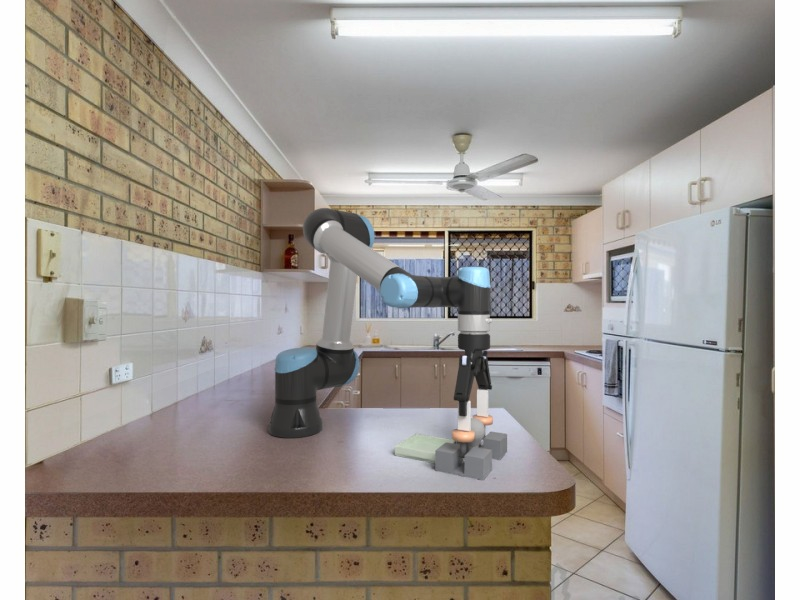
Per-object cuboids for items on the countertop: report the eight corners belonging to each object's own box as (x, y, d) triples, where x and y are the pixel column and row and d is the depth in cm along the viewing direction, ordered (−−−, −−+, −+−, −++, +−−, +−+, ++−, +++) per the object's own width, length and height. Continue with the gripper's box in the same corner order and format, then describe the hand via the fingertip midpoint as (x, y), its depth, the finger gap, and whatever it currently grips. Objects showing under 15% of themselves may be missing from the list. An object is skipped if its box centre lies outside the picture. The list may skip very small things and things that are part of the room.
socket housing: (435, 470, 98) (435, 450, 98) (465, 444, 115) (465, 427, 115) (483, 480, 93) (483, 458, 93) (507, 451, 110) (507, 433, 110)
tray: (394, 455, 107) (394, 446, 107) (415, 441, 118) (415, 433, 118) (438, 463, 102) (438, 454, 102) (456, 449, 112) (456, 440, 112)
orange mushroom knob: (469, 439, 109) (469, 417, 109) (476, 434, 114) (476, 413, 114) (489, 443, 107) (489, 420, 107) (495, 437, 111) (495, 415, 111)
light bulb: (484, 465, 101) (485, 422, 101) (460, 464, 102) (461, 420, 102) (485, 457, 106) (485, 416, 106) (462, 455, 107) (462, 414, 107)
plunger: (448, 458, 97) (448, 433, 97) (456, 451, 101) (456, 427, 101) (470, 462, 94) (470, 436, 94) (477, 455, 99) (477, 430, 99)
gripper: (472, 336, 91) (472, 439, 91) (503, 330, 113) (503, 412, 113) (438, 335, 95) (438, 434, 95) (475, 329, 117) (475, 409, 117)
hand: (473, 422), depth 104 cm, fingers open, 13 cm apart
